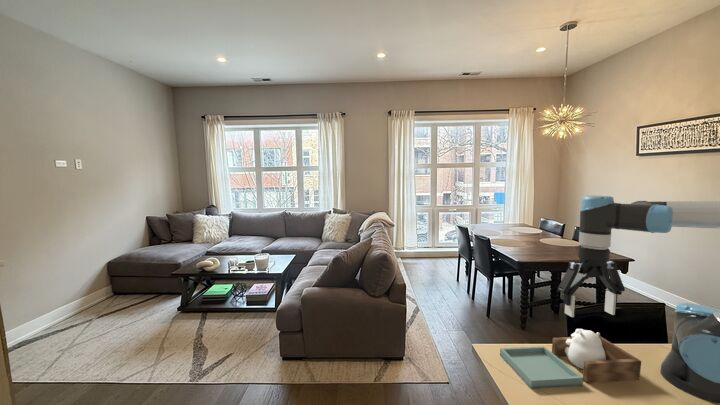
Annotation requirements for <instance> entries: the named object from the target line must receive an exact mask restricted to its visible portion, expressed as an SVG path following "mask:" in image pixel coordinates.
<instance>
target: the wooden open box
mask: <svg viewBox="0 0 720 405" xmlns="http://www.w3.org/2000/svg"><path fill="white" fill-rule="evenodd" d="M598 337H599V338H600V340H601V342H602V347H603V349H604V352H605V357H606V360H598V361H584V369H582V370H583V371H582V377H583V383H585V384H596V383H598V384H599V383H613V382H614V383H615V382H616V383H617V382H633V381H634V382H635V381H640V379H641V378H640V377H641V369H642V368H641V366H642V360H640V359H639V358H637V357H635V356H634V355H632V354H630V353H629V352H628V351H625V350H624V349H622V348H621V347H619V346H617V345H616V344H614V343H612V342H611V341H609V340H607V339H606V338H604V337H602V336H601V335H599V336H598ZM567 339H572V337H571V336H567V337H565V336H563V337H562V336H561V337H552V341H551V342H552V344H551V352H552V353H553V354H554V355H556V356H557V357H558V358H561V357H563V358H564V357H567V355H566V353H565V348H566V347H570V346H569V345H567V344H566V341H567Z"/></svg>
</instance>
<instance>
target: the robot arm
mask: <svg viewBox="0 0 720 405" xmlns="http://www.w3.org/2000/svg"><path fill="white" fill-rule="evenodd" d="M579 213H580V214H579V230H578V231H579V234H578V244H579V245H578V248H577V249H578V250H577V257H578V259H579V261H578V262H574V261H569V262H568V267H567V270H566V272H565V274H564V276H563V278H562V280H561V282H560V283H559V285H558V287H557V291H558V292H560V293H562V294H563V304H564V314H566V315H567V316H569V317H571V318H575V307H576V306H575V305H576V296H575V295H574V294H575V292H576V291H578V289H579V288H580V286H582V284H583V283H584V282H585V281H586V280H588V279H589V278H590V279H591V278H599V279H600V281H601V282H602V283H603V285H604V286H605V288H606V289H607V290H606V291H605V298H604V312H606V313H608V314H610V315H612V316H615V315H616V305H617V302H618V296H619V295H622V292H625V290H626V289H625V285H624V284H623V281H622V279H621V276H620V273H619V271H618V263H617V262H615V261H613V260H610V259H611V258H610V256H611V249H609V248H610V247H611V243H612V242H611V241H612V230H613V229H614V230H622V231H623V230H624V231H636V232H643V233H644V232H645V233H651V234H655V233H658V234H659V233H660V234H667V233H668V234H669V233H671V231H672V228H695V229H696V228H697V229H720V200H719V201H718V200H715V201H713V200H695V201H693V200H691V201H690V200H689V201H688V200H687V201H686V200H683V201H682V200H681V201H680V200H678V201H676V200H675V201H671V200H669V201H647V200H637V201H633V202H631V203H620V202H615V200H614V197H613V196H611V195H610V196H609V195H585V196H583V197H582V199H581V203H580V212H579ZM674 313H675V314H674V324H673V331H672V341H671V349H670V351H669V352H668V354H667V355H666V357H664V359H663V361H662V363H661V364H660V372H659V373H660V375H661V376H662V377H663V379H665V381H667V382H669V383H670V384H671V385H673V386H674V387H676V388H677V389H679V390H682V391H684V392H686V393H688V394H690V395H693V396H696V397H698V398H701V399H702V400H707V401H710V402H713V403H718V404H720V309H719V308H715V307H711V306H707V305H701V304H696V303H688V302H679V303H677V304H676V307H675V310H674Z"/></svg>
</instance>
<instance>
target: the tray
mask: <svg viewBox="0 0 720 405" xmlns="http://www.w3.org/2000/svg"><path fill="white" fill-rule="evenodd" d="M499 357H501V358H502V359H503V361H505V363H506V364H507V365H508V367H510V368H511V369H512V370H513V371H514V373H515V374H517V376H518V377H519V378H520V379H521V380H522V381H523V382H524V384H526V386H528V388H529V389H530V390H537V389H555V388H569V387H572V388H573V387H582V386H583V383H584V381H583V376H581V375H580V374H579V373H577V372H576V370H574V369H573V368H571V366H569V365H568V364H566V362H564V361H563V360H562V359H561V358H560V357H557V356H556V355H554V354H553V353H552V350H550V349H549V348H547V347H546V346H544V345H543V346H542V345H541V346H537V345H536V346H523V347H522V346H521V347H520V346H518V347H501V348H499Z"/></svg>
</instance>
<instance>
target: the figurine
mask: <svg viewBox="0 0 720 405" xmlns="http://www.w3.org/2000/svg"><path fill="white" fill-rule="evenodd" d="M598 336H601V333H600V332H596V333H595V332H594V331H592V330H588V329H583V328H576V329H575V331H574V332H573V333H571V334H570V337H572V339H567V341H566V344H567V345H569V346H570V347H566V348H565V353H566V355H567V356H566V357H567V360H568V361H570V362H571V364H573V365H574V366H576V367H577V368H580V369H582V370H583V369H584V361H598V360H606V357H605V352H604V349H603V347H602V342H601V340H600V338H599V337H598Z"/></svg>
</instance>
